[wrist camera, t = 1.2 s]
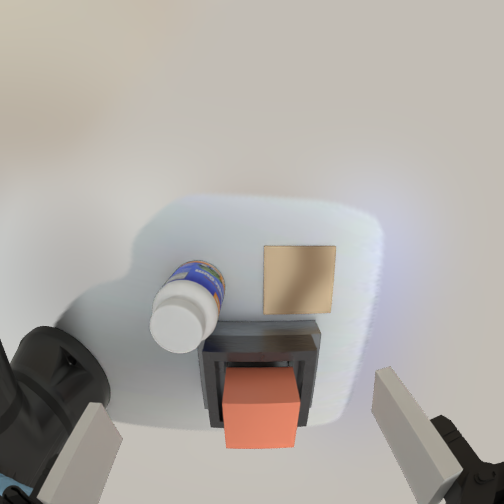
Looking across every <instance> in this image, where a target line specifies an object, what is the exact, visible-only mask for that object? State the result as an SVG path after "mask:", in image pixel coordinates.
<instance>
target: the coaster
mask: <svg viewBox="0 0 504 504" xmlns="http://www.w3.org/2000/svg"><path fill="white" fill-rule="evenodd" d="M335 256H336V246H264V305H263V314H264V315H270V314H312V313H331V304H332V294H333V282H334V270H335Z"/></svg>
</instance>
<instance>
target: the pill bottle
mask: <svg viewBox="0 0 504 504" xmlns="http://www.w3.org/2000/svg"><path fill="white" fill-rule="evenodd" d="M224 294H225V283H224V279H223V277H222V275H221V273H220V272H219V271H218V269H217V268H215V267H214V266H213V265H211V264H209V263H207V262H204V261H191V262H187V263H185V264H183V265H182V266H180V267H179V268H178V269H177V270H176V271H175V272H174V273H173V275H172V276H171V277H170V278H169V279H168V280H167V282H166V283H165V284H164V285H163V286H162V288H161V289H160V290H159V291H158V293H157V294H156V296H155V298H154V301H153V305H152V316H151V319H150V324H149V326H150V332H151V335H152V337H153V338H154V340H155V341H156V343H157V344H158V345H159V346H161V347H162V348H163V349H165V350H167V351H169V352H173V353H179V354H182V353H188V352H190V351H192V350H194V349H195V348H197V347H198V345H199V344H200V343H201V341H202V340H204V339H206V338H207V337H208V336H209V335H210V334H211V333H212V332H213V331H214V329H215V327H216V324H217V321H218V317H219V313H220V309H221V305H222V301H223V298H224Z"/></svg>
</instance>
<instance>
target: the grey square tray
mask: <svg viewBox="0 0 504 504" xmlns="http://www.w3.org/2000/svg"><path fill="white" fill-rule="evenodd" d="M320 340H321V332H320V330H319V328H318V325H317V323H316V321H315V320H309V321H267V322H228V321H217V324H216V327H215V329H214V331H213V332H212V333H211V334H210V335H209V336H208V337H207V338H206V339H204V340H202V341H201V343H200V344H199V345H198V356H199V366H200V374H201V383H202V391H203V399H204V406H205V409H209V417H210V425H211V427H214V428H224V419H223V407H222V401H223V392H224V384H225V375H226V367H227V362H274V361H289V367H293V370H294V375H295V379H296V384H297V389H298V393H299V398H300V409H299V416H298V423H297V427H301V426H306V424H307V419H308V413H309V408H311V404H312V398H313V392H314V385H315V378H316V371H317V364H318V356H319V349H320Z"/></svg>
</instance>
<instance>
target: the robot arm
mask: <svg viewBox="0 0 504 504" xmlns="http://www.w3.org/2000/svg"><path fill="white" fill-rule="evenodd" d="M109 399H110V388H109V384H108V381H107V378H106V376H105V374H104V372H103V370H102V368H101V367H100V365H99V364H98V362H97V361H96V359H95V358H94V357H93V356H92V355H91V353H90V352H89V351H88V350H87V349H86V348H85V347H84V346H83V345H82V344H81V343H79V342H78V341H77V340H76V339H74V338H73V337H72V336H70V335H69V334H67V333H65V332H63V331H61V330H59V329H57V328H53V327H49V326H40V327H37V328H35V329H33V330H32V331H31V332H29V333H28V334H27V335H26V336H25V337H24V338H23V339H22V340H21V342H20V344H19V347H18V349H17V351H16V353H15V355H14V357H13V359H12V361H11V363H9V361H8V359H7V356H6V353H5V351H4V348H3V346H2V342H1V340H0V504H98V503H99V500H100V497H101V494H102V492H103V489H104V486H105V483H106V481H107V478H108V476H109V473H110V470H111V468H112V465H113V462H114V460H115V457H116V455H117V452H118V450H119V447H120V445H121V442H122V439H123V438H122V437H121V435H120V434H119V432H118V430H117V429H116V427H115V426H114V424H113V422H112V421H111V419H110V417H109V416H108V414H107V412H106V410H105V408H106V406H107V404H108V402H109ZM372 413H373V415H374V417H375V419H376V421H377V423H378V425H379V427H380V428H381V431H382V432H383V434H384V436H385V438H386V440H387V442H388V444H389V446H390V448H391V450H392V452H393V454H394V456H395V458H396V460H397V462H398V464H399V466H400V468H401V470H402V472H403V474H404V476H405V478H406V480H407V482H408V484H409V486H410V488H411V490H412V492H413V494H414V496H415V499H416V501H417V503H418V504H439V503H440V502H441V500H442V499H443V498H444V499H445V501H446V504H504V462H501V463H498V464H492V463H487V462H483V461H481V460H480V459H479V458H478V456H477V455H476V453H475V452H474V451H473V449H472V448H471V447H470V445H469V444H468V443H467V441H466V440H465V439H464V437H462V435H461V434H460V432H459V431H458V430H457V428H456V427H455V425H454V424H453V423H452V422H451V420H449V419H447V418H446V417H444V416H442V415H440V416H437V417H435V418H433V419H431V420H429V419H428V417H427V416H426V414H425V413H424V412H423V410H422V409H421V407H420V406H419V405H418V403H417V402H416V400H415V399H414V398H413V396H412V395H411V393H410V392H409V391H408V389H407V388H406V387H405V385H404V384H403V383H402V381H401V380H400V378H399V377H398V376H397V374H396V373H395V372H394V370H393V369H392V368H391V366H389V367H386V368H383V369H380V370H376V371H375V383H374V393H373V403H372Z"/></svg>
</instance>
